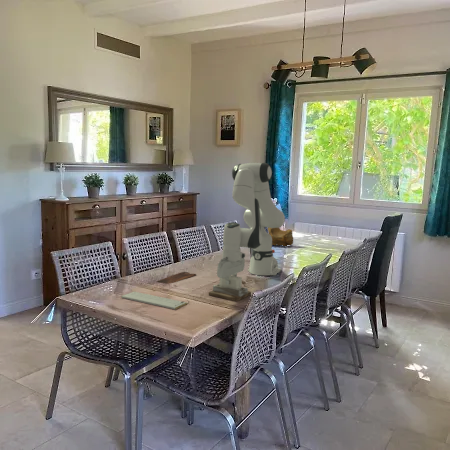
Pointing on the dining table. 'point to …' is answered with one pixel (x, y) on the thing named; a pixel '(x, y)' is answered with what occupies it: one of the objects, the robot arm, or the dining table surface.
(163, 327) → the dining table surface
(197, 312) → the dining table surface
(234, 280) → the pale green rectangular block
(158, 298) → the baseboard molding
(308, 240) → the dining table surface
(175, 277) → the wooden tablet
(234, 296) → the track base
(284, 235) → the rough brown rock
